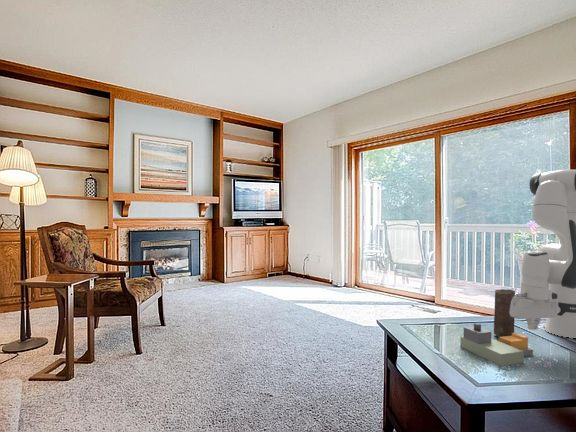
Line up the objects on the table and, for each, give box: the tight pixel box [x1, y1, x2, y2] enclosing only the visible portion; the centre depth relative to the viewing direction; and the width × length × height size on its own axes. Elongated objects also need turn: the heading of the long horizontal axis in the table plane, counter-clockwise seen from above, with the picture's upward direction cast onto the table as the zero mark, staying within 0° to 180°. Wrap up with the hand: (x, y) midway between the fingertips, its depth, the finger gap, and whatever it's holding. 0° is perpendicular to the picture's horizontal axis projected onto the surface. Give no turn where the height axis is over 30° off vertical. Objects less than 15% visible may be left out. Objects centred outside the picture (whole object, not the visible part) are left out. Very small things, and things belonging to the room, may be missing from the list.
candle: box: [493, 288, 516, 338], centre depth 146 cm, size 8×7×20 cm
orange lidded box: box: [498, 332, 529, 350], centre depth 131 cm, size 8×5×6 cm, turn 106°
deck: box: [460, 322, 534, 367], centre depth 129 cm, size 20×18×10 cm
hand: (532, 329), depth 133 cm, fingers closed
